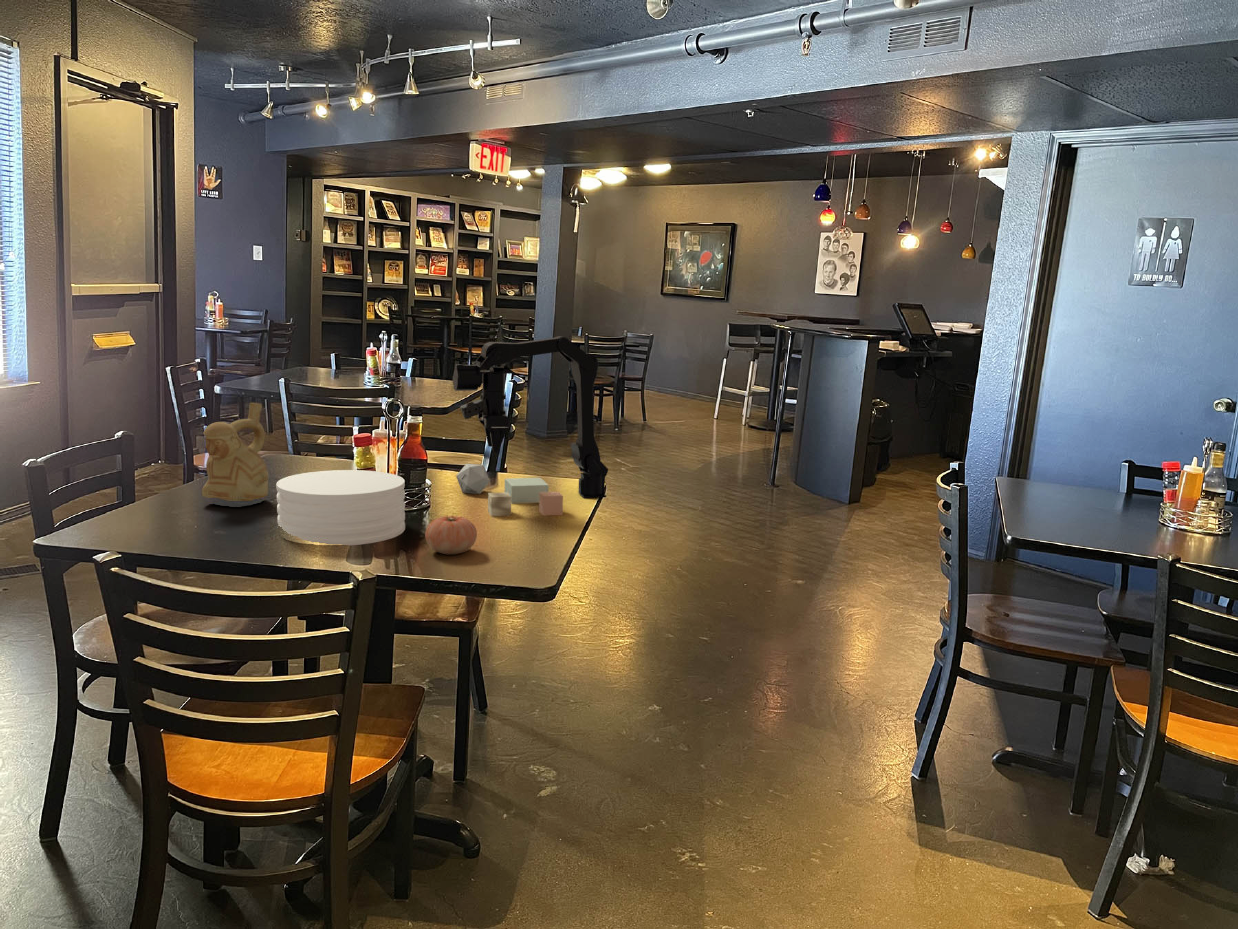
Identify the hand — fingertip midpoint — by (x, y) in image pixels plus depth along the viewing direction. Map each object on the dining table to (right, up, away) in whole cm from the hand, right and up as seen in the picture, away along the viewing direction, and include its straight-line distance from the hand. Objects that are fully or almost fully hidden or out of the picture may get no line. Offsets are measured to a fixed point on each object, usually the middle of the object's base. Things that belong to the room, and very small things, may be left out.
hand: (492, 449), depth 242 cm
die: (-7, -12, +13) cm, 19 cm away
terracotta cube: (+16, -16, -8) cm, 24 cm away
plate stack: (-30, -19, -31) cm, 48 cm away
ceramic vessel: (-63, -14, -10) cm, 65 cm away
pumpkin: (-3, -23, -47) cm, 52 cm away
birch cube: (+3, -17, -11) cm, 20 cm away
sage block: (+8, -14, +7) cm, 17 cm away
